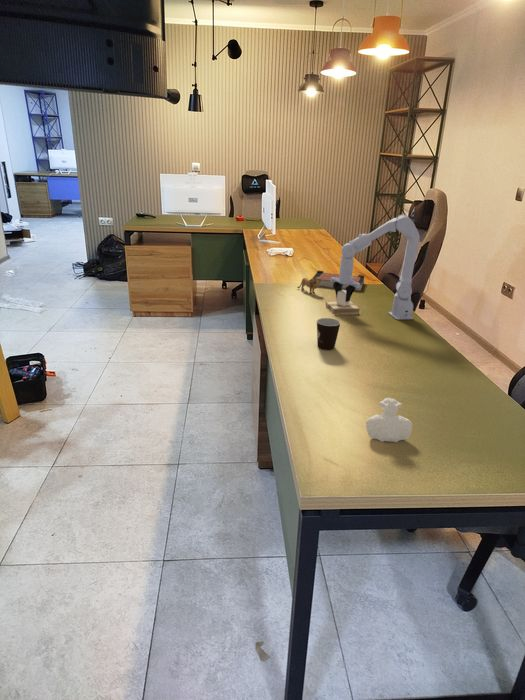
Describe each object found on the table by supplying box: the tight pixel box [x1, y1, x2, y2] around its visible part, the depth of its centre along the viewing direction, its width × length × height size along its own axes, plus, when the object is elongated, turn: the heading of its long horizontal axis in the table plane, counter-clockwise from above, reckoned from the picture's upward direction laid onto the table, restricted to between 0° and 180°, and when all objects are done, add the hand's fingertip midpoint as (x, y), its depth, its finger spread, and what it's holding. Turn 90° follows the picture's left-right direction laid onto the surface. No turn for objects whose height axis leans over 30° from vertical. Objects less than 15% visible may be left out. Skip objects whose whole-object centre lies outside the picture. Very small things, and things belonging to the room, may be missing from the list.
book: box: [311, 270, 365, 292], centre depth 261 cm, size 26×18×5 cm
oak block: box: [325, 300, 361, 316], centre depth 220 cm, size 12×12×3 cm
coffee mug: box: [316, 317, 341, 351], centre depth 179 cm, size 12×9×10 cm
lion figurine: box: [297, 277, 322, 295], centre depth 245 cm, size 15×5×9 cm, turn 47°
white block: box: [336, 289, 351, 306], centre depth 219 cm, size 4×4×6 cm
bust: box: [365, 397, 413, 443], centre depth 124 cm, size 12×8×11 cm
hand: (342, 300), depth 219 cm, fingers closed on white block, 4 cm apart
